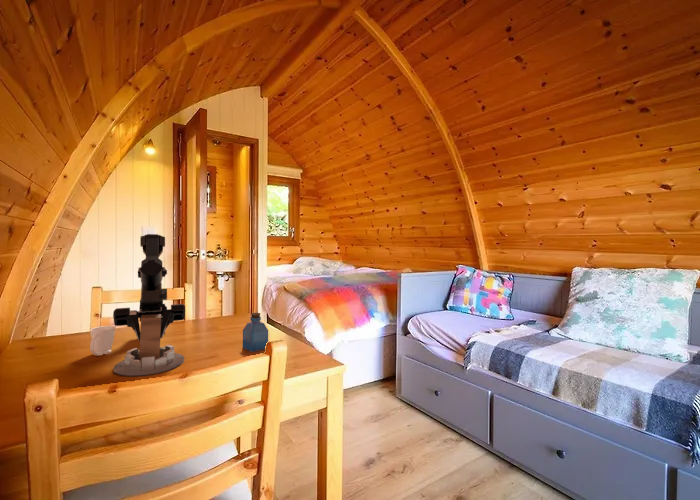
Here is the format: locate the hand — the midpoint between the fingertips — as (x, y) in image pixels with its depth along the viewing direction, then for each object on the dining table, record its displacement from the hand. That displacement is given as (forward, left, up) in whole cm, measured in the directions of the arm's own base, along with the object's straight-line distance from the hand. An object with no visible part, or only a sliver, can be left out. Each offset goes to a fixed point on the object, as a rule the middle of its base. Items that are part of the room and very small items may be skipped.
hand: (150, 338), depth 98 cm
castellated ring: (-1, +1, -8) cm, 8 cm away
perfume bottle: (+24, +20, -8) cm, 33 cm away
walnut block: (-1, +1, -7) cm, 7 cm away
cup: (-22, +7, -8) cm, 24 cm away
